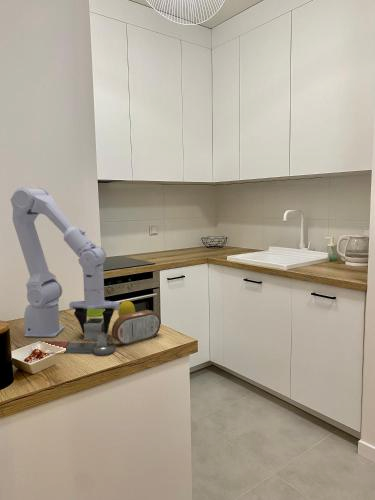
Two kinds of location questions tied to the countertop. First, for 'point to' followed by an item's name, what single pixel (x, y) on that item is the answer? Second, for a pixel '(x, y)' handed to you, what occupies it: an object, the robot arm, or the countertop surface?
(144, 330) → the tin
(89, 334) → the socket
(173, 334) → the countertop surface
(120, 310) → the lemon
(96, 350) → the ratchet
